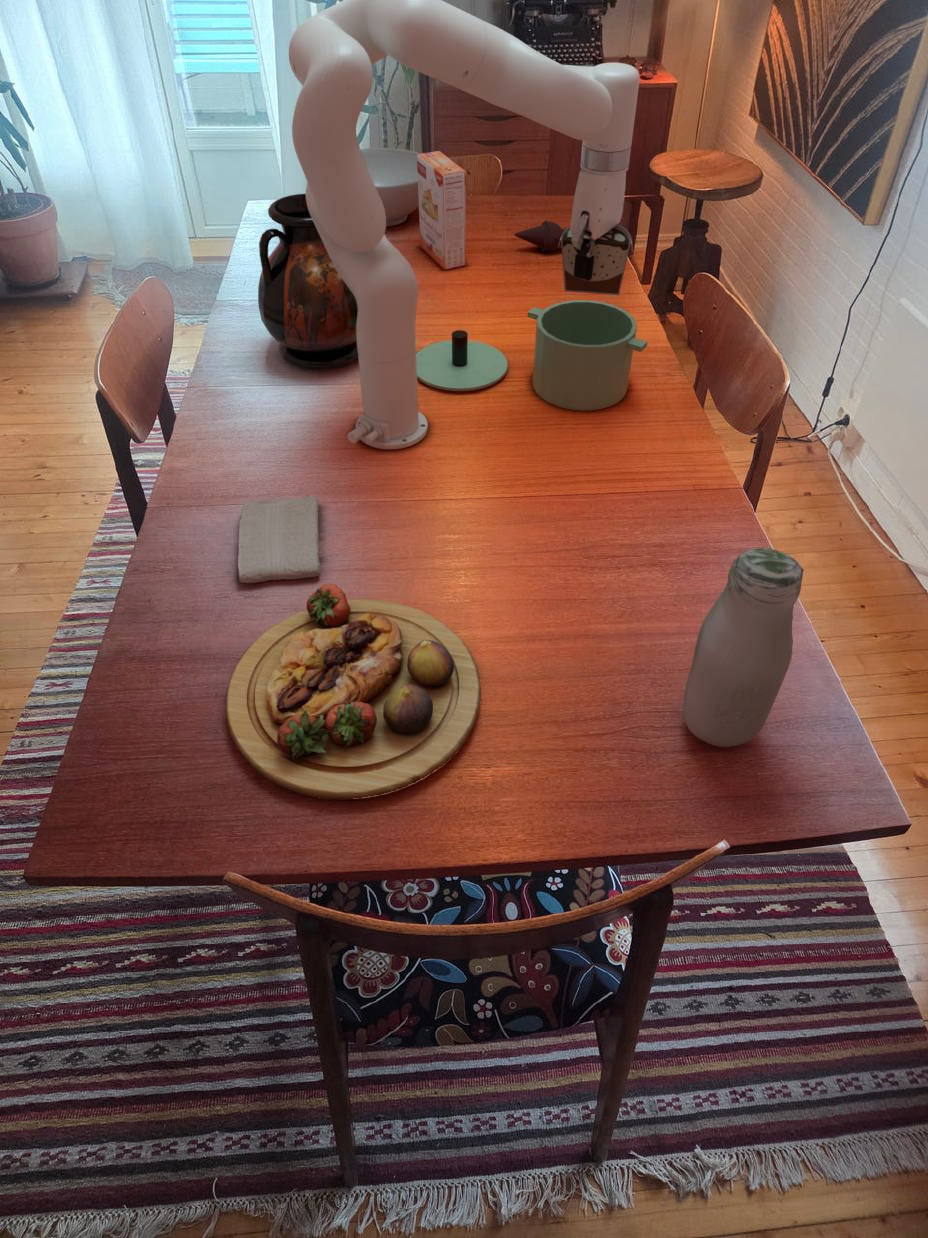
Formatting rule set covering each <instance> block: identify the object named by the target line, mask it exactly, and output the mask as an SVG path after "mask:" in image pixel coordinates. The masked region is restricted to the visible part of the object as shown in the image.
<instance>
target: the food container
mask: <svg viewBox="0 0 928 1238" xmlns="http://www.w3.org/2000/svg"><path fill="white" fill-rule="evenodd" d="M569 226H570V227H571V225H569ZM569 226H567V227H566V228H567V229H566V230H565V231H564V232H563V234H562V236H561V238H560V241H559V245H558V248H557V249H559V248H560V247H561V246H560V244H561V243H562V247H561V254H562V256H561V258H562V273H563V288H564V292H567V293H582V294H592V295H594V294H596V295H607V296H608V295H609V296H620V293H621V289H622V284H623V280H624V275H625V271H626V266H627V262H628V257H629V252H630V249H631V253H634V245H633V239H632V236H631V233H630V232H629V230H628V229H626V228H625V227H623V226H622V225H620V224H619V225H618V224H616V226H615V227H614V228H612V229H611V230H609V231H608V232H607V233H605V234H604V235H602V236H601V237H599V238H597V239H596V243H595V246H594V250H593V254H592V256H594V264H593V273H592V279H591V280H589V281H588V280H585V279H581V278H578V277H575V276H574V266H575V256H576V254H575V249H574V245H573V243H572V241H571V239H572V236H573V234H571V231H570V227H569ZM585 235H589V236H591V235H592V232H589V231H586V232H585ZM583 242H584V243H586V245H587V247H588V246H589V243H590V240H588V239H584V240H583ZM559 246H560V247H559Z"/></svg>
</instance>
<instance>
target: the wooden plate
mask: <svg viewBox="0 0 928 1238" xmlns="http://www.w3.org/2000/svg"><path fill="white" fill-rule="evenodd" d="M305 605H306V609H303V610H301V611H298V612H296V613H295V614H292V615H291V616H288V617H286V618H285V619H283V620H281V621H279V622H278V623H276V624H274V625H273V626H271V627H270V628H269V629H268V630H266V631H265V632H264V633H262V634H261V635H260V636H259V637H258V638H257V639H256V640H255V641H253V643H252V644H251V645H250V646H249V647H248V649H247V650H246V651H245V652H244V654H243V655H242V656H241V657H240V659H239V661H238V662H237V664H236V666H235V668H234V670H233V672H232V674H231V676H230V678H229V682H228V685H227V689H226V695H225V715H226V726H227V729H228V731H229V734H230V737H231V739H232V741H233V744H234V745H235V747H236V749H237V750H238V752H239V753H240V755H241V756H242V757H243V759H244V760H245V761H246V762H247V763H248V765H250V767H252V768H253V769H254V770H255V771H256V772H257V773H258V774H259V775H261V776H262V777H264V778H265V779H267V780H269V781H270V782H271V783H273V784H275V785H278V786H279V785H280V786H279V787H281V786H282V788H283V787H284V788H283V789H286V790H288V791H290V790H291V792H293V791H294V792H293V793H296V792H297V794H299V793H300V795H303V794H304V795H303V796H306V795H307V796H306V797H310V796H312V797H311V798H316V797H320V798H319V799H321V798H328V799H327V800H331V799H353V798H362V797H368V796H374V795H381V794H384V793H388V792H391V791H395V790H397V789H401V788H403V787H406V786H408V785H409V784H412V783H415V782H416V781H418V780H420V779H421V778H424V777H425V776H427V775H428V774H430V773H432V772H433V771H434V770H436V769H438V768H439V767H441V766H443V764H445V763H446V762H447V761H448V760H449V759H450V758H452V757H453V756H454V755H455V753H456V752H457V751H458V750H459V749H460V748H461V749H462V747H463V746H464V745H463V743H464V742H465V740H466V739H467V737H468V736H469V737H470V735H471V733H472V731H473V729H474V727H475V725H474V724H476V722H477V719H478V716H479V713H478V712H480V706H481V697H482V687H481V679H480V674H479V671H478V668H477V664H476V662H475V660H474V658H473V655H472V654H471V652H470V650H469V649H468V647H467V645H466V644H465V643H464V641H463V640H462V639H461V638H460V637H459V636H458V635H457V633H456V632H454V631H453V630H452V629H451V628H450V627H449V626H448V625H446V624H445V623H443V622H442V621H440V620H439V619H437V618H436V617H434V616H433V615H431V614H429V613H427V612H425V611H422V610H420V609H418V608H416V607H414V606H410V605H406V604H403V603H400V602H395V601H389V600H381V599H371V598H369V599H368V598H359V599H358V598H355V599H347V596H346V593H345V592H344V591H343V589H342V588H340V587H339V586H338V585H336V584H334V583H325V584H323V585H321V586H320V588H317V589H316V590H315V591H314V592H313V593H312V594H311V595H308V599H307V601H306V604H305ZM473 726H474V727H473ZM469 734H470V735H469ZM469 737H468V738H469ZM467 740H468V739H467ZM467 740H466V741H467ZM465 743H466V742H465ZM465 743H464V744H465ZM462 745H463V746H462ZM461 746H462V747H461ZM461 749H460V750H461ZM460 750H459V751H460ZM459 751H458V752H459ZM455 756H456V755H455ZM455 756H454V757H455ZM454 757H453V758H454ZM453 758H452V759H453ZM445 765H446V764H445ZM443 767H444V766H443ZM376 769H378V770H376ZM434 774H435V773H433V774H432V775H434ZM423 781H424V780H422V781H420V782H419V783H421V782H423ZM417 784H418V783H416V784H415V785H417ZM411 787H412V786H410V787H409V788H411ZM401 791H402V790H400V791H397V792H394V793H391V794H395V793H398V792H401ZM391 794H390V795H391ZM388 795H389V794H387V795H386V796H388ZM378 797H379V798H380V796H378ZM378 797H377V798H378ZM375 798H376V797H373V798H372V799H375ZM368 799H370V798H367V799H366V800H368ZM321 800H322V799H321ZM357 800H358V801H359V800H360V799H356V801H357Z"/></svg>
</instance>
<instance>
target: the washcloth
mask: <svg viewBox="0 0 928 1238" xmlns="http://www.w3.org/2000/svg"><path fill="white" fill-rule="evenodd" d="M319 535H320V533H319V499H318V498H317V497H315V496H311V495H304V496H302V497H295V498H294V497H293V498H277V499H276V498H275V499H274V498H273V499H258V500H254V499H253V500H250V501H248V502H246V503H245V504H243V506H242V510H241V516H240V519H239V521H238V541H237V544H238V545H237V547H238V554H237V555H238V556H237V569H238V580H239V583H244V584H252V583H253V584H254V583H260V582H261V583H265V582H268V581H276V580H287V581H290V580H299V579H307V578H316V577H319V576H320V575H322V573H321V569H320V568H321V561H320V540H319V539H320V537H319Z"/></svg>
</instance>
